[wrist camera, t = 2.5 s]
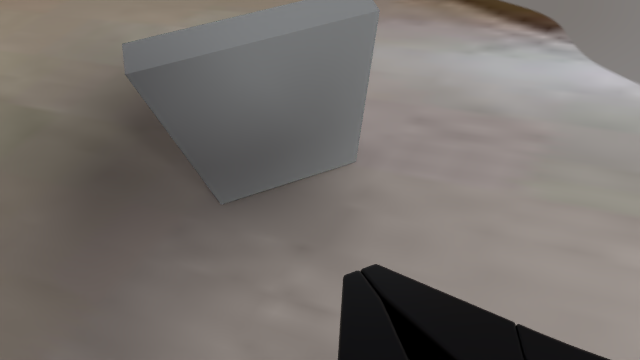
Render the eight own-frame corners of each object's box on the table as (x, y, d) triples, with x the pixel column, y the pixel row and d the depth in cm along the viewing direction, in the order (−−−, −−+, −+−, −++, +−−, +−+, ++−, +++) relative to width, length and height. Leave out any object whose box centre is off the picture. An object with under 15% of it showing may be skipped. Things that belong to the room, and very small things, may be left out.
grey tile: (355, 161, 24) (379, 10, 13) (221, 204, 22) (125, 74, 12) (345, 140, 25) (360, -18, 14) (215, 180, 23) (121, 38, 13)
